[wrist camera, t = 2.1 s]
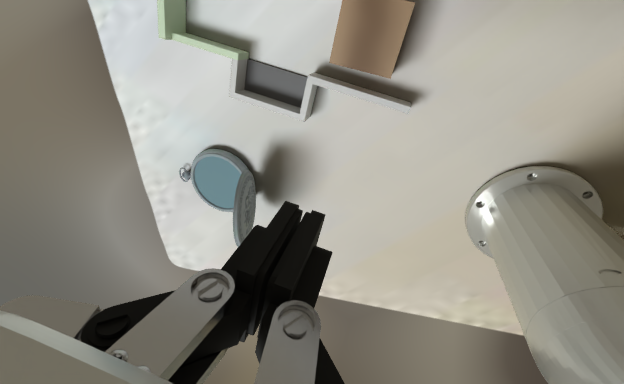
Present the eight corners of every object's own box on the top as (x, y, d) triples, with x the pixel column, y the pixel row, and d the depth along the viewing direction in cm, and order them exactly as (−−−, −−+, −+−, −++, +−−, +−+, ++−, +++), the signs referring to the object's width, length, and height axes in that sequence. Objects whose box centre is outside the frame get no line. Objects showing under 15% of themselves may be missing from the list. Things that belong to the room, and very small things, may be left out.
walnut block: (413, 6, 27) (415, 2, 23) (392, 73, 30) (390, 78, 27) (352, -7, 28) (345, -13, 24) (337, 59, 31) (329, 62, 27)
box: (488, -82, 23) (500, -100, 20) (393, 144, 33) (392, 154, 30) (178, -152, 26) (149, -177, 23) (180, 73, 36) (160, 77, 33)
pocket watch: (239, 266, 34) (135, 239, 37) (275, 217, 43) (188, 199, 46) (232, 193, 29) (113, 169, 32) (274, 155, 38) (177, 140, 41)
